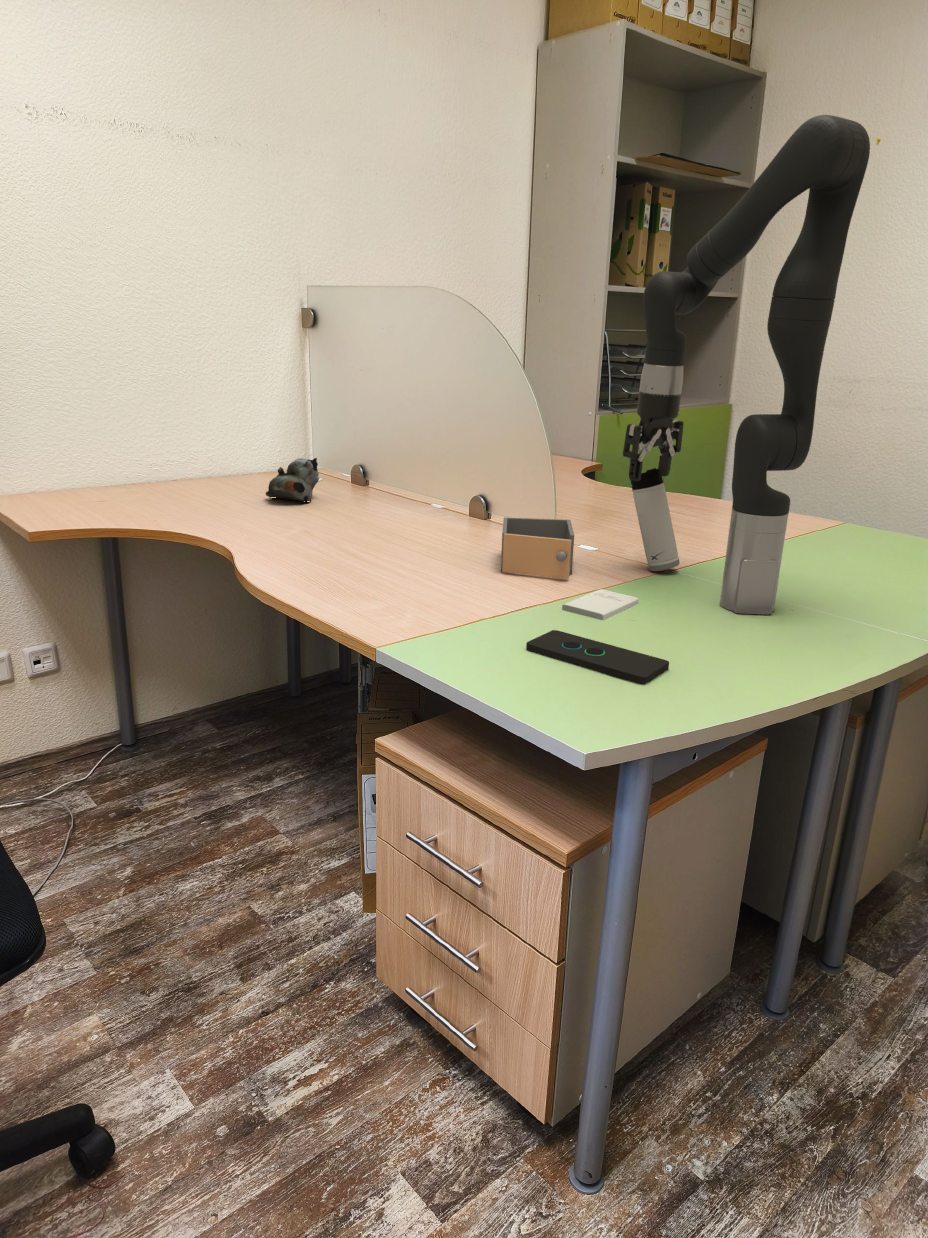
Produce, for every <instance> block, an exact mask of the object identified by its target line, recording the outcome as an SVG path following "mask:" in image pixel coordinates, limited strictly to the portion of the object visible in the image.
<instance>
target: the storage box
mask: <svg viewBox="0 0 928 1238" xmlns="http://www.w3.org/2000/svg"><path fill="white" fill-rule="evenodd" d="M502 522H503V523H502V531H501V556H500V557H501V559H500V560H501V562H500V563H501V564H500V573H503V572H502V567H503V540H504V534H505V533H507V534H517V535H527V536H537V537H547V538H558V539H568V540H572V541H571V556H570V572H569V576H572V574H573V563H574V562H573V560H574V546H575V533H574V528H573V524H572V521H571V519H563V518H559V519H557V518H556V519H554V518H532V517H531V518H530V517H528V518H527V517H503V521H502ZM506 573H507V574H508V572H506Z"/></svg>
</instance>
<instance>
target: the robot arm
mask: <svg viewBox="0 0 928 1238" xmlns="http://www.w3.org/2000/svg"><path fill="white" fill-rule="evenodd" d="M870 143H871V142H870V137H869V134H868V131H867V129H866V128H865V127H864V126H863V125H862V124H861V123H860V122H857V121H855V120H851V119H848V118H844V117H841V116H836V115H831V114H821V115H815V116H813V117H811V118H809V119H807V120H805V122H803V123H801V125H800V126H799V127H798V128H797V129H796V130H795V131H794V132H793V133H792V134H791V136H790V137H789V138H788V140H786V142H785V143H784V144H783V145H782V147H781V148H780V150H779V151H777V153H776V155H774V157H773V159H772V160H771V161H770V162H769V164H768V165H767V166H766V168H765V169H764V170H763V171H762V172H761V174H760V175H759V176H758V177H757V179H756V180H755V181H754V182H753V184H752V185H751V186H750V187H749V189H748V190H747V191H746V192H745V194H744V195H743V196H742V197H741V199H739V200H738V201H737V203H736V204H735V205H734V206H733V207H732V208H731V209H730V210H729V211H728V213H726V214H725V216H724V217H722V219H720V220H719V221H718V222H717V223H716V224H715V225H714V226H713V227H711V229H710V230H709V231H708V232H707V233H706V234H704V235H703V237H702V238H700V240H698V242H696V243H695V244H694V245H693V246H692V248H691V249H690V250H689V251H688V254H687V256H686V265H687V267H686V268H685V269H683V271H680V272H679V271H665V270H664V271H659V272H655V274H653V275H652V276H651V277H650V279H649V280H648V281H647V282H646V285H645V288H644V291H643V296H642V297H643V298H642V307H643V308H642V309H643V318H644V327H645V328H644V329H645V333H646V345H645V354H644V361H643V367H642V371H641V377H640V382H639V391H638V399H637V408H636V414H637V415H638V416H639V418H640V419H639V424H633V423H628V424H627V426H626V431H625V436H624V437H625V438H624V442H623V443H624V445H623V449H622V450H623V452H622V457H625V458H627V459H629V461H630V462H629V467H628V468H629V469H628V479H629V480H633V481H640V479H641V473H643V472H642V471H643V460H644V458H645V456H646V455H647V453H649V452H650V451H651V450H652V449H653V448H655V447H658V450H659V452H660V455H659V461H658V466H657V469H658V475H661V476H662V477H668V476H669V475H670V472H671V465H672V458H673V457H674V456H675V454H676V453H680V452H681V450H682V441H683V434H684V426H685V425H684V424H685V423H684V421H683V420H680V419H677V418H678V416H679V411H680V404H681V398H682V391H683V383H684V365H685V358H686V350H687V341H688V340H687V335H686V333H685V332H683V331H681V330H679V329H678V328H677V321H676V316H683V315H688V314H690V313H691V312H693V311H694V310H696V309H697V308H699V307H700V306H701V305H702V304H703V303H704V301H705V300H707V298H708V296H709V295H710V294H711V292H712V291H713V290H714V288H715V286H716V285H717V283H718V282H719V280H721V278H723V277H724V276H726V274H728V273H729V272H730V271H731V270H732V269H733V268H734V267H735V266H736V265H738V264H739V263H740V262H741V261H742V260H744V259H745V257H747V255H748V254H750V252H751V251H752V250H753V248H754V247H755V246H756V245H757V243H758V242H759V240H760V238H761V236H762V235H763V234H764V232H765V230H766V228H767V226H768V225H769V223H770V222H771V221H772V220H773V218H774V217H775V216H776V215H777V214H778V213H779V212H780V211H781V210H782V209H783V208H784V207H785V206H786V205H787V204H789V203H790V202H791V201H794V199H795V198H797V197H798V196H801V195H802V194H803V193H804V192H806V191H807V190H808V198H807V205H806V210H805V216H804V220H803V224H802V227H801V230H800V233H799V235H798V237H797V240H796V242H795V243H794V245H793V247H792V248H791V250H790V252H789V254H788V255H787V257H786V260H785V261H784V263H783V265H782V267H781V269H780V271H779V273H778V275H777V277H776V280H775V283H774V286H773V290H772V296H771V300H770V308H769V311H768V318H767V323H766V325H767V326H766V327H767V330H766V331H767V335H768V339H769V343H770V345H771V348H772V351H773V353H774V356H775V358H776V359H775V360H776V362H777V363H778V366H779V369H780V371H781V375H782V379H783V389H784V390H783V401H782V408H781V412H780V413H777V414H776V413H775V414H773V413H768V414H767V413H765V414H762V413H760V414H759V413H758V414H757V413H755V414H750V415H748V416H746V417H745V418H743V420H742V421H741V422H740V424H739V426H738V429H737V433H736V436H735V441H734V442H735V443H734V451H733V452H734V454H733V468H732V480H731V494H732V495H731V496H732V504H731V505H732V506H731V513H730V519H729V521H730V522H729V529H728V535H727V545H726V552H725V557H724V558H725V561H724V566H723V567H724V568H723V573H722V574H723V576H722V582H721V583H722V584H721V592H720V599H719V604H720V606H722V607H723V608H725V609H726V610H729V611H732V612H734V613H735V614H743V615H744V614H748V615H769V614H771V615H772V613H773V611H774V610H775V606H776V600H777V593H778V586H779V578H780V572H781V566H782V565H781V564H782V561H783V560H782V559H783V552H784V547H785V546H784V545H785V540H786V539H785V538H786V532H787V526H788V519H789V513H790V507H791V498H790V496H789V495H788V494H787V493H785V492H782V491H779V490H776V489H775V488H772V487H771V486H770V485H768V480H767V475H768V473H767V472H776V471H777V472H779V471H780V472H781V471H793V470H797V469H798V468H800V467H801V466H802V465H803V464H804V463H805V461H806V459H807V457H808V455H809V452H810V449H811V445H812V439H813V438H812V437H813V434H814V433H813V431H814V424H815V414H816V406H817V395H818V386H819V380H820V374H821V373H820V372H821V367H822V361H823V357H824V351H825V346H826V342H827V337H828V334H829V329H830V325H831V321H832V316H833V311H834V306H835V302H836V301H835V300H836V294H837V288H838V282H839V278H840V273H841V268H842V264H843V259H844V254H845V250H846V245H847V238H848V235H849V234H848V233H849V230H850V229H849V228H850V225H851V221H852V218H853V214H854V211H855V208H856V204H857V202H858V198H859V195H860V191H861V188H862V184H863V181H864V178H865V175H866V170H867V167H868V163H869V160H870V159H869V158H870V155H871V154H870V152H871V144H870ZM674 440H675V442H674ZM674 443H675V444H674ZM631 446H632V448H631ZM630 449H631V450H630Z"/></svg>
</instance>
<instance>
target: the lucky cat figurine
mask: <svg viewBox="0 0 928 1238" xmlns="http://www.w3.org/2000/svg"><path fill="white" fill-rule="evenodd" d="M317 461H318V459H317V457H314V458H313V459H309V458H306V457H305V458H304V457H300V458H296V459H294V460H293V461H291V462H290V463H289V464H288V466H287V468H286V472H285V471H284V470H285V469H284V468H283V467H282V466H280V467H279V468H278V469H277V473H278V474H277V475H276V476H274V477H273V478H272V479H270V481H269V483H268V487H267V488H268V490H267V491H266V492H265V496H266V497H268V498H270V497H276V498H277V499H284V498H287V499H286V500H291V499H292V500H293V501H298V500H299V501H298V502H301V501H305V502H307V501H310V502H311V501H312V500H311V499H313V490H314V488H315V487H316V485H317V483H318V482H319V474H320V472H319V469H318V462H317ZM292 500H291V501H292Z"/></svg>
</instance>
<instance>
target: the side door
mask: <svg viewBox="0 0 928 1238" xmlns="http://www.w3.org/2000/svg"><path fill="white" fill-rule="evenodd" d="M571 541H572V540H568V539H558V538H547V537H537V536H527V535H517V534H507V533H505V534H504V540H503V567H502V572H501V573H507V572H508V573H510V574H516V575H517V574H519V575H524V576H525V575H526V576H535V577H536V576H537V577H543V578H544V577H545V578H552V579H553V578H554V579H563V580H569V579H570V575H569V572H570V556H571ZM508 573H507V574H508Z"/></svg>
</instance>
